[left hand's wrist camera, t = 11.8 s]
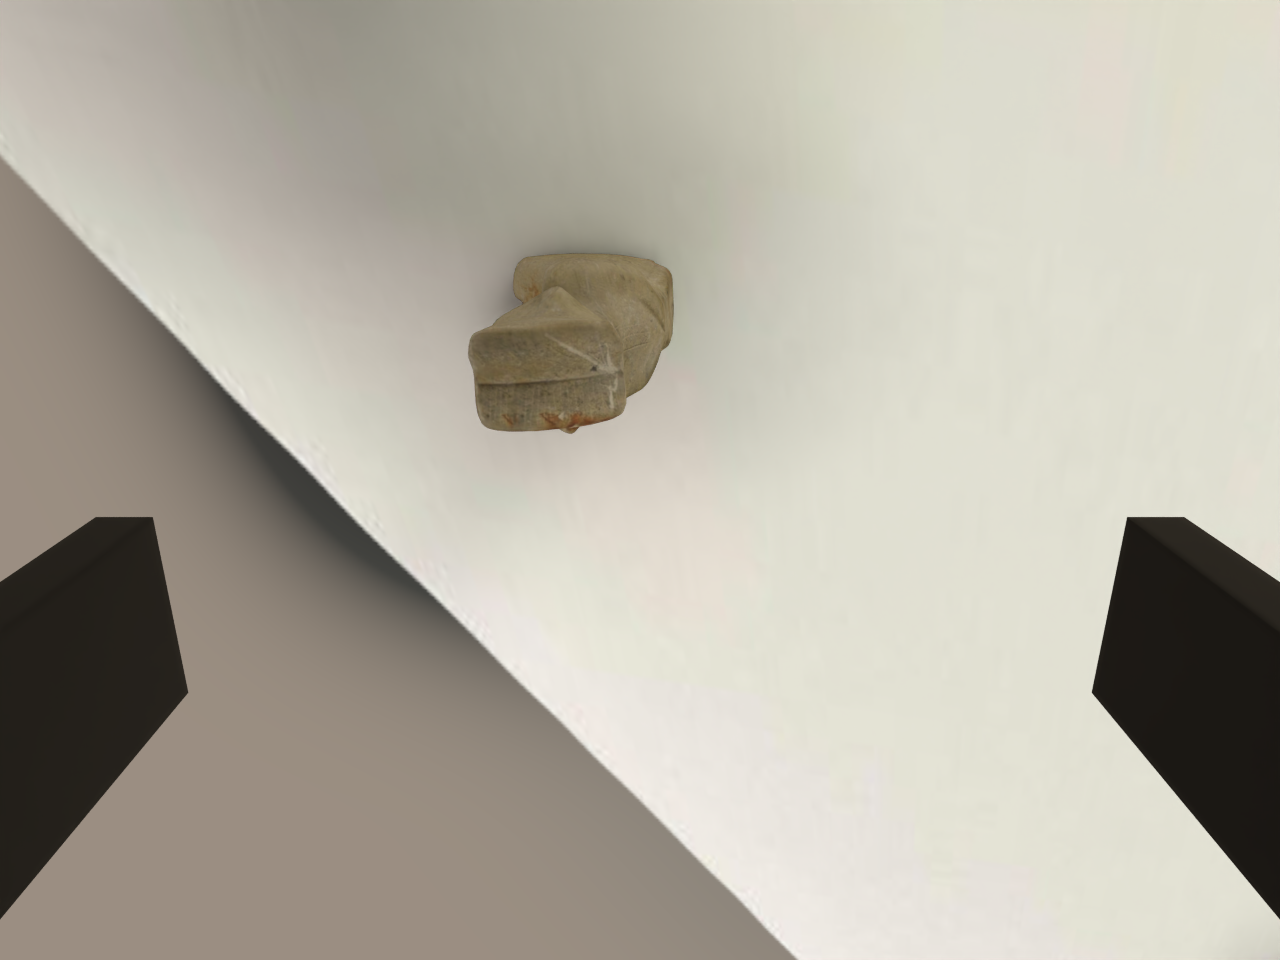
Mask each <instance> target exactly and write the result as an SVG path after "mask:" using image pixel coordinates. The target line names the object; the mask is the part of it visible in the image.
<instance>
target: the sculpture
mask: <svg viewBox="0 0 1280 960" xmlns="http://www.w3.org/2000/svg"><path fill="white" fill-rule="evenodd" d="M513 290H514V293H515V296H516V297H517V298H518V299H520V300H521V301H522V302H523V304H522V305H521V306H519V307H517V308H515V309H513V310H511V311H510V312H508V313H506V314H504V315H503V316H501V317H500V318H499V319H497V320H496V322H495V323H494V324H493V326H490V327H488V328H485V329H483V330H481V331H478V332H476V333H474V334H473V335H472V337H471V339H470V342H469V349H468V356H469V360H470V363H471V366H472V368H473V373H474V381H475V397H476V406H477V412H478V416H479V418H480V420H481V423H482V424H483V425H484V426H485V427H487V428H489V429H493V430H499V431H541V430H551V429H560V430H562V431H564V432H566V433H569V434H572V433H574V432H575V431H576V430H577V429H578V428H579V427H580V426H585V425H591V424H595V423H599V422H603V421H607V420H610V419H613V418H615V417H617V416H619V415H620V414H622V412H623V411H624V408H625V405H626V398H627V397H629V396H631V395H632V394H634V393H636V392H638V391H640V390H641V389H642V388H643V387H644V386H645V385H646V384H647V383H648V381H649V380H650V378H651V376H652V374H653V372H654V370H655V367H656V365H657V362H658V359H659V356H660V353H661V351H662V350H663V349H665V348H666V347H667V346H668V345H669V343H670V341H671V336H672V329H673V309H674V305H673V282H672V276H671V273H670V271H669V270H668V269H667V268H665V267H663V266H661V265H658V264H655V262H654V261H652V260H649V259H640V258H635V257H629V256H623V255H610V254H555V255H543V256H533V257H526V258H524V259H523V260H521V261H520V262H519V263H518V265H517V267H516V269H515V273H514V281H513Z"/></svg>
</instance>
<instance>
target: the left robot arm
mask: <svg viewBox="0 0 1280 960" xmlns="http://www.w3.org/2000/svg"><path fill="white" fill-rule="evenodd" d="M187 693H188V689H187V684H186V680H185V674H184V669H183V664H182V660H181V655H180V650H179V645H178V640H177V635H176V630H175V625H174V620H173V615H172V610H171V605H170V600H169V595H168V591H167V585H166V580H165V575H164V570H163V566H162V561H161V556H160V551H159V546H158V541H157V536H156V531H155V526H154V521H153V517H95V518H94V519H93V520H91V521H90V522H88V523H87V524H85V525H84V526H82V527H81V528H79V529H78V530H76V531H75V532H73V533H72V534H70V535H69V536H67V537H66V538H64V539H63V540H62V541H60V542H59V543H57V544H56V545H54V546H53V547H51V548H50V549H48V550H47V551H45V552H44V553H42V554H41V555H39V556H38V557H37V558H35V559H34V560H32V561H31V562H29V563H28V564H26V565H25V566H23V567H22V568H20V569H19V570H17V571H16V572H14V573H13V574H11V575H10V576H9V577H7V578H6V579H4V580H3V581H1V582H0V919H1V918H2V916H3V915H4V914H5V913H6V912H7V910H8V909H9V908H10V907H11V906H12V904H13V903H14V902H15V901H16V899H17V898H18V897H19V896H20V895H21V893H22V892H23V891H24V890H25V889H26V888H27V886H28V885H29V884H30V883H31V881H32V880H33V879H34V878H35V877H36V875H37V874H38V873H39V872H40V871H41V869H42V868H43V867H44V866H45V865H46V863H47V862H48V861H49V860H50V859H51V857H52V856H53V855H54V854H55V853H56V851H57V850H58V849H59V848H60V847H61V845H62V844H63V843H64V842H65V841H66V839H67V838H68V837H69V836H70V834H71V833H72V832H73V831H74V830H75V828H76V827H77V826H78V825H79V824H80V822H81V821H82V820H83V819H84V818H85V816H86V815H87V814H88V813H89V812H90V810H91V809H92V808H93V807H94V805H95V804H96V803H97V802H98V801H99V799H100V798H101V797H102V796H103V795H104V793H105V792H106V791H107V790H108V789H109V787H110V786H111V785H112V784H113V783H114V781H115V780H116V779H117V778H118V777H119V775H120V774H121V773H122V772H123V771H124V769H125V768H126V767H127V766H128V765H129V763H130V762H131V761H132V760H133V759H134V757H135V756H136V755H137V754H138V753H139V751H140V750H141V749H142V748H143V746H144V745H145V744H146V743H147V742H148V740H149V739H150V738H151V737H152V735H153V734H154V733H155V732H156V731H157V730H158V728H159V727H160V726H161V725H162V724H163V722H164V721H165V720H166V719H167V718H168V716H169V715H170V714H171V713H172V712H173V710H174V709H175V708H176V707H177V705H178V704H179V703H180V702H181V701H182V699H183V698H184V697H185V696H186V695H187ZM1092 693H1093V695H1094V696H1095V697H1096V698H1097V699H1098V701H1099V702H1100V703H1101V704H1102V705H1103V707H1104V708H1105V709H1106V710H1107V712H1108V713H1109V714H1110V715H1111V716H1112V718H1113V719H1114V720H1115V721H1116V722H1117V724H1118V725H1119V726H1120V727H1121V728H1122V730H1123V731H1124V732H1125V733H1126V734H1127V736H1128V737H1129V738H1130V739H1131V740H1132V742H1133V743H1134V744H1135V745H1136V746H1137V748H1138V749H1139V750H1140V751H1141V753H1142V754H1143V755H1144V756H1145V757H1146V759H1147V760H1148V761H1149V762H1150V763H1151V765H1152V766H1153V767H1154V768H1155V769H1156V771H1157V772H1158V773H1159V774H1160V775H1161V777H1162V778H1163V779H1164V780H1165V781H1166V783H1167V784H1168V785H1169V786H1170V787H1171V789H1172V790H1173V791H1174V792H1175V793H1176V795H1177V796H1178V797H1179V798H1180V800H1181V801H1182V802H1183V803H1184V804H1185V806H1186V807H1187V808H1188V809H1189V810H1190V812H1191V813H1192V814H1193V815H1194V816H1195V818H1196V819H1197V820H1198V821H1199V822H1200V824H1201V825H1202V826H1203V827H1204V828H1205V830H1206V831H1207V832H1208V833H1209V834H1210V836H1211V837H1212V838H1213V839H1214V841H1215V842H1216V843H1217V844H1218V845H1219V847H1220V848H1221V849H1222V850H1223V851H1224V853H1225V854H1226V855H1227V856H1228V857H1229V859H1230V860H1231V861H1232V862H1233V863H1234V865H1235V866H1236V867H1237V868H1238V869H1239V871H1240V872H1241V873H1242V874H1243V875H1244V877H1245V878H1246V879H1247V880H1248V882H1249V883H1250V884H1251V885H1252V886H1253V888H1254V889H1255V890H1256V891H1257V892H1258V894H1259V895H1260V896H1261V897H1262V898H1263V900H1264V901H1265V902H1266V903H1267V904H1268V906H1269V907H1270V908H1271V909H1272V910H1273V912H1274V913H1275V914H1276V915H1277V916H1278V918H1279V919H1280V582H1279V581H1277V580H1276V579H1274V578H1273V577H1272V576H1270V575H1269V574H1267V573H1266V572H1264V571H1263V570H1261V569H1260V568H1258V567H1257V566H1255V565H1254V564H1252V563H1251V562H1249V561H1248V560H1246V559H1245V558H1244V557H1242V556H1241V555H1239V554H1238V553H1236V552H1235V551H1233V550H1232V549H1230V548H1229V547H1227V546H1226V545H1224V544H1223V543H1221V542H1220V541H1218V540H1217V539H1216V538H1214V537H1213V536H1211V535H1210V534H1208V533H1207V532H1205V531H1204V530H1202V529H1201V528H1199V527H1198V526H1196V525H1195V524H1193V523H1192V522H1190V521H1189V520H1188V519H1186V518H1185V517H1127V521H1126V526H1125V531H1124V536H1123V541H1122V546H1121V551H1120V556H1119V561H1118V566H1117V570H1116V575H1115V580H1114V585H1113V590H1112V595H1111V600H1110V605H1109V610H1108V615H1107V620H1106V625H1105V630H1104V635H1103V640H1102V645H1101V650H1100V655H1099V659H1098V664H1097V669H1096V674H1095V679H1094V684H1093V689H1092Z"/></svg>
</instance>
